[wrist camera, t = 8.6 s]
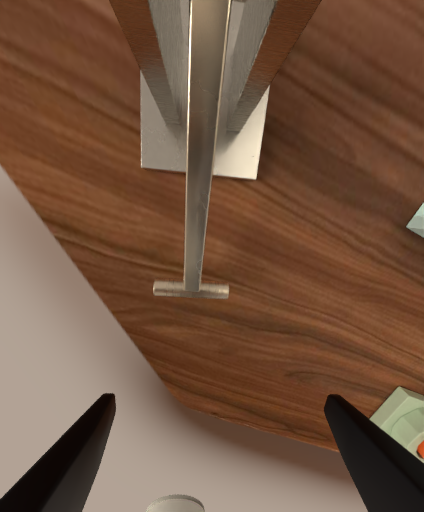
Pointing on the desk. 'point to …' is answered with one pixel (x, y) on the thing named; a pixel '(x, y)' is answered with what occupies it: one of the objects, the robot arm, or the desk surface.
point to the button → (421, 449)
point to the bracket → (234, 83)
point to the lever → (201, 142)
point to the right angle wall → (417, 222)
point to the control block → (403, 419)
